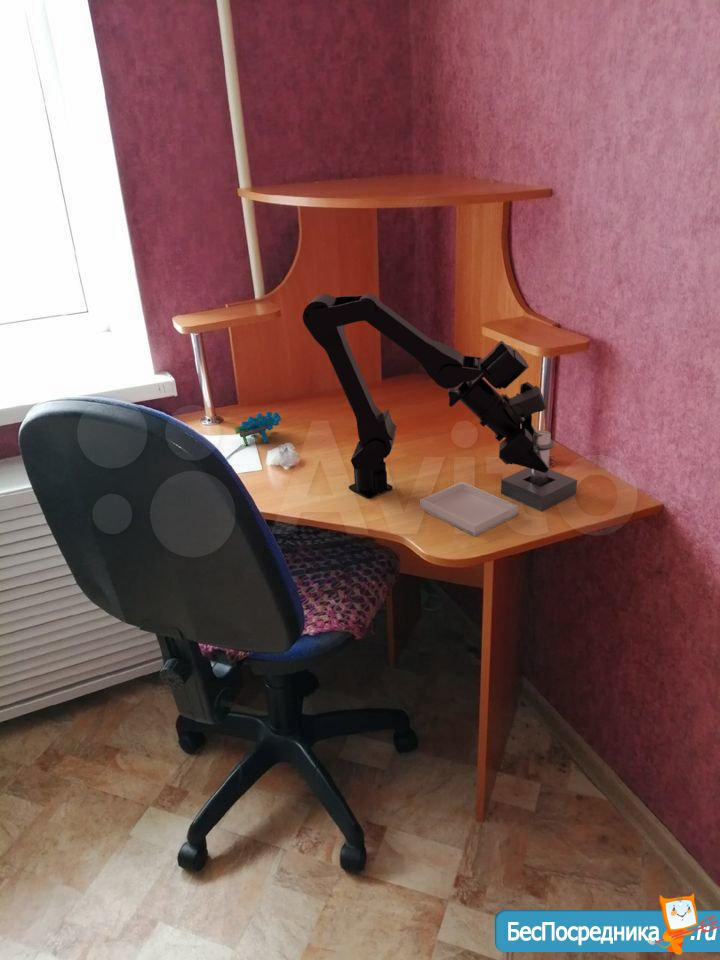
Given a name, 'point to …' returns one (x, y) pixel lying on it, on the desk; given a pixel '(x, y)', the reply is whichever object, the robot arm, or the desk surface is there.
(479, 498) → the tray
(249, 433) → the blue spiky toy
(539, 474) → the steel pin
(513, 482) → the hitch block
